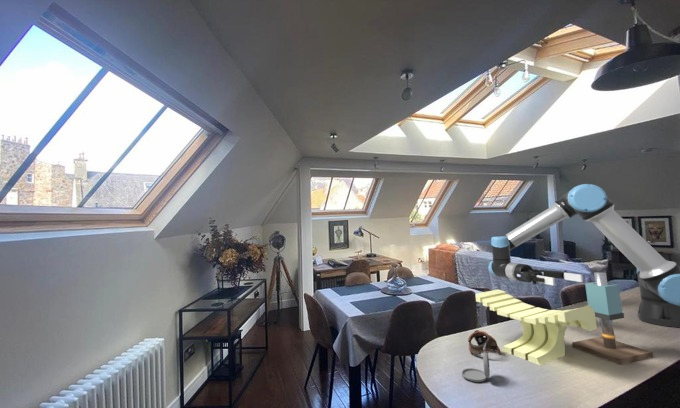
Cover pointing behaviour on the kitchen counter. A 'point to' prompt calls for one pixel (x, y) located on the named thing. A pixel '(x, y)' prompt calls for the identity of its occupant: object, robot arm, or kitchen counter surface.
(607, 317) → the dark grey square slab
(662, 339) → the kitchen counter surface
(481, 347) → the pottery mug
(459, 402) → the kitchen counter surface
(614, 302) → the sleeve
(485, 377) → the grey round-based holder
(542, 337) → the slatted curved stool
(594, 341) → the pipe stand
